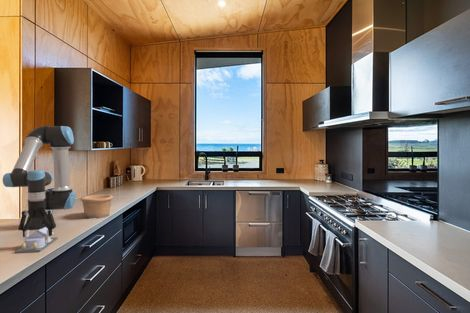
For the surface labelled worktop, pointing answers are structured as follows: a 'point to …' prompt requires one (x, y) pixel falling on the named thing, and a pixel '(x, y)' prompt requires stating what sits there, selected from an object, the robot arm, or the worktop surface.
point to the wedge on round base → (37, 238)
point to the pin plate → (35, 247)
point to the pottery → (96, 205)
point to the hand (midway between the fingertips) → (37, 242)
